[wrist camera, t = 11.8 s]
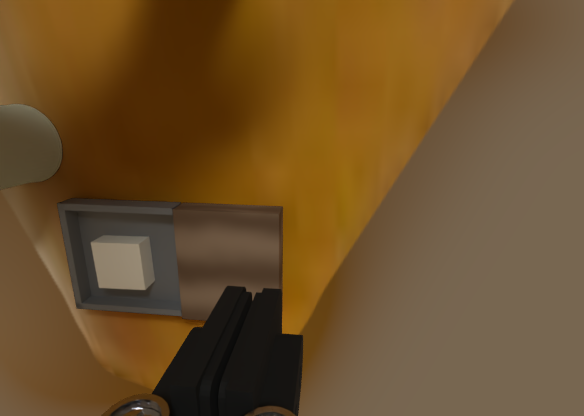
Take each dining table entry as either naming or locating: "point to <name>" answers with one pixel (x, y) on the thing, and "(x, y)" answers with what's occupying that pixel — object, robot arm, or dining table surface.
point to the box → (121, 222)
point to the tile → (123, 262)
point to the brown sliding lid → (225, 252)
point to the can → (27, 146)
